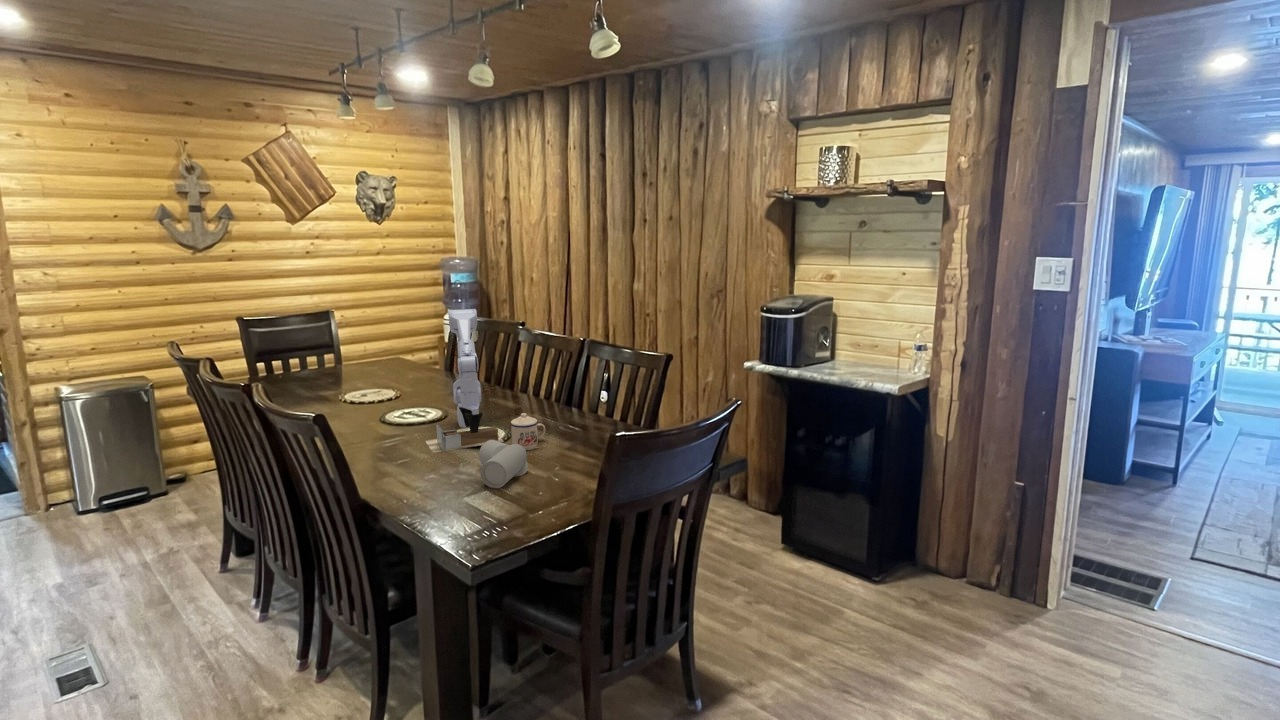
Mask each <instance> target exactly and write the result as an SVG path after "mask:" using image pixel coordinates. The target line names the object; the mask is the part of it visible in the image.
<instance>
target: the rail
mask: <svg viewBox="0 0 1280 720" xmlns="http://www.w3.org/2000/svg"><path fill="white" fill-rule="evenodd" d="M457 434H460V435H461V446H466V445H472V444H479V443H485V442H487V441H489V440H496V441H498V436H499V429H498V428H497V427H496V426H490V427H484V428H479V429H478V432H477V433H471V431H470V429H468V430H464V431H463V430H462V431H457V432H455V433H448V434H446V436H450V435H457Z"/></svg>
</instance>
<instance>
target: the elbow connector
mask: <svg viewBox="0 0 1280 720" xmlns="http://www.w3.org/2000/svg"><path fill="white" fill-rule="evenodd" d="M478 459H479V462H480V463H481V464H482V466H481V468H480V471H479V472H480V473H479V474H480V479H481V480H482V482H483V483H484V485H485V486H487V487H489V488H490V489H491V488H493V489H501V488H502V487H504V486H505V485H506V484H507V483H508V482H509V481H510V480H511V479H512V478H514V477H520V476H523V475H525V474H526V473H527V471H528V469H529V464H528V461H527V460H528V459H527V450H525V448H524V447H523V446H521V445H519V444H510V445H509V444H507V443H504V442H498V441H496V440H489V441H487V442H485V443H484V444H483V445H481V447H480V449H479V452H478Z"/></svg>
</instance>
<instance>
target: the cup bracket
mask: <svg viewBox="0 0 1280 720" xmlns="http://www.w3.org/2000/svg"><path fill="white" fill-rule="evenodd" d="M435 426H436V428H435V429H436V439H437V443H438V446H439V447H440V448H441V450H442V452H445V451H444V450H448V451H450V450H449V449H455V450H457V449H456V448H461V435H460V434H457V435H450V436H446V434H448V433H455V432H458V431H457V429H450V430H443V428H442V427H441V426H440V425H439V424H436V425H435ZM461 449H462V448H461Z"/></svg>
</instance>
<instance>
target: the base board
mask: <svg viewBox="0 0 1280 720" xmlns="http://www.w3.org/2000/svg"><path fill="white" fill-rule="evenodd" d="M424 442H425V443H426V444H427V446H428V448H429V449H430V451H431V452H432V453H435V454H436V453H439V452H440V453H442V452H446V451H447V452H448V451H452V450H453V451H454V450H460V449H467V448H474V447H480V446H481V447H482V445H483V444H484V443H479V444H472V445H466V446H461V448H456V449H449V450H444V451H442V450H441V448H440V447H439V446H438V443H437V438H434V439H426V440H424ZM498 442H501V443H504V442H505V440H503V438H501V436H499V435H498Z"/></svg>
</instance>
